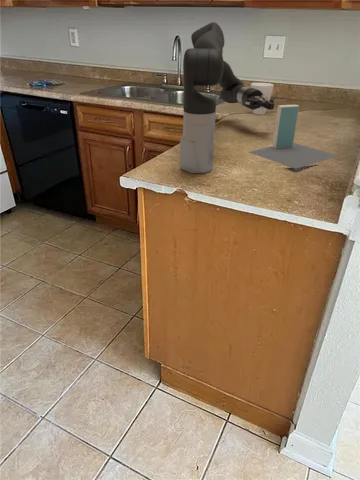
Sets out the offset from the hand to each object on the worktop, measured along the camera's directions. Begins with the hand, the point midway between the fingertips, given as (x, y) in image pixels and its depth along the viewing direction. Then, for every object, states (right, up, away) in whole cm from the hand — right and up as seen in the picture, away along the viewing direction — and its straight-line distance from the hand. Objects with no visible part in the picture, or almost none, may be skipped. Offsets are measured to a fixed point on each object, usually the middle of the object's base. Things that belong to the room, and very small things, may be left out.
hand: (272, 106), depth 137 cm
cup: (+6, +14, +50) cm, 53 cm away
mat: (+5, -20, -9) cm, 23 cm away
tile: (+3, -15, -3) cm, 16 cm away
